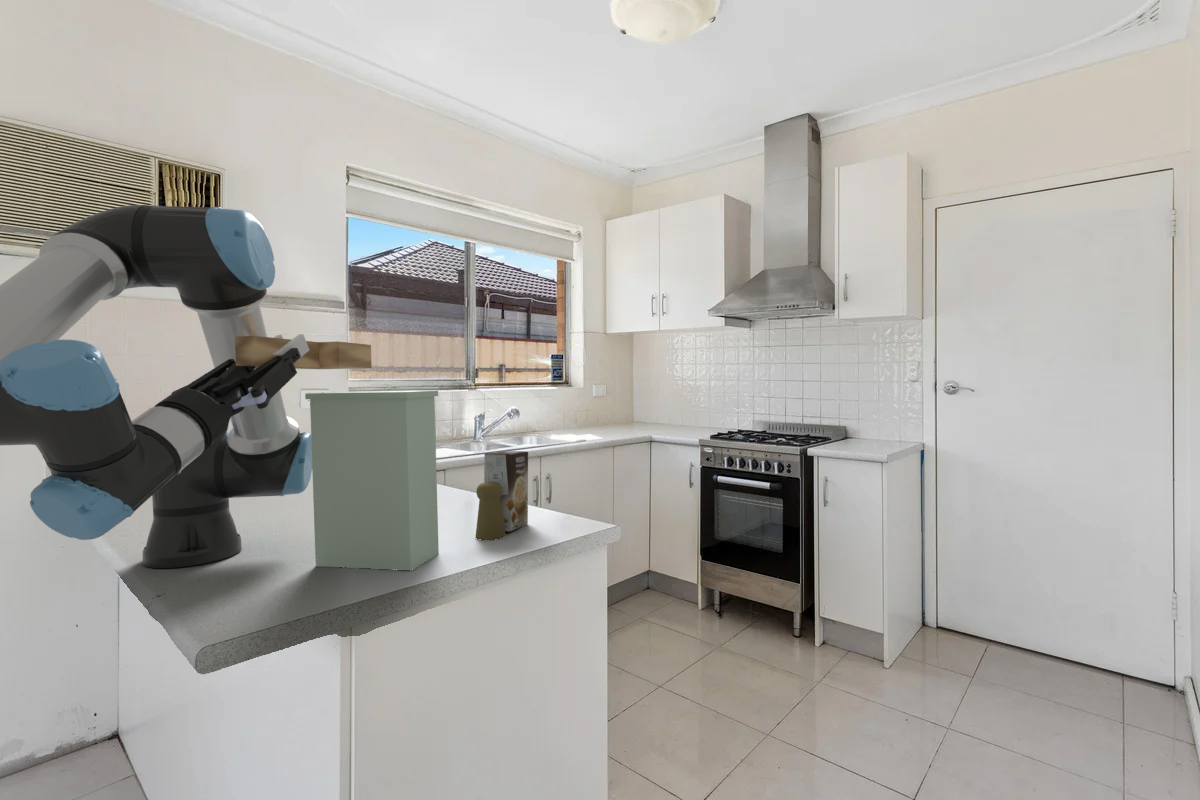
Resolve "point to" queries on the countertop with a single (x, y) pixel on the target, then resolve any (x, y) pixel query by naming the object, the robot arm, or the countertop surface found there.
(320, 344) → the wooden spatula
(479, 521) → the cork
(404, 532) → the sage green shelf box
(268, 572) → the countertop surface
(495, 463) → the coffee box
